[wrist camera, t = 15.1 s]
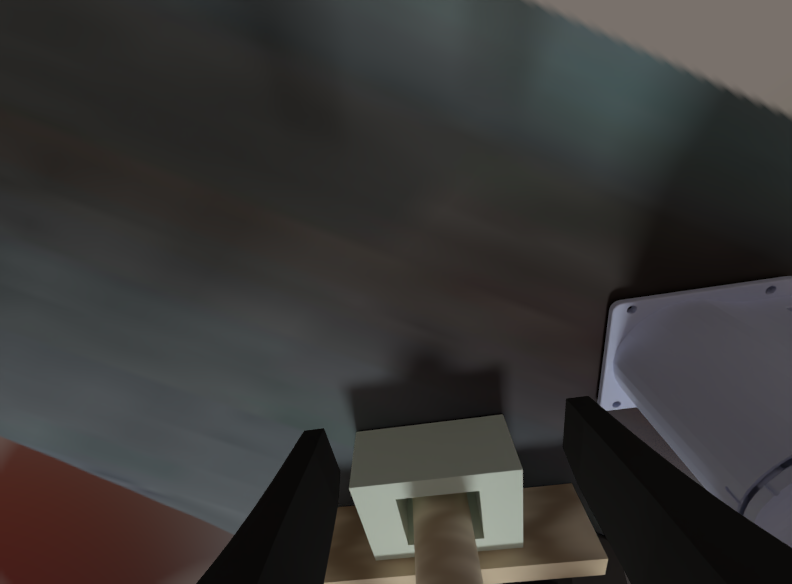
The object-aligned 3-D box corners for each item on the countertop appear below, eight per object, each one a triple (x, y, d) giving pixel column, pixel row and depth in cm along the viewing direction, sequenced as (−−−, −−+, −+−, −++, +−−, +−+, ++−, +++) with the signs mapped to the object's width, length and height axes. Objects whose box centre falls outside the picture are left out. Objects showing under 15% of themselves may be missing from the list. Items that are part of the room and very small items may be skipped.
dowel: (459, 448, 23) (486, 593, 16) (463, 481, 25) (490, 626, 18) (407, 454, 24) (412, 599, 16) (415, 486, 25) (422, 631, 18)
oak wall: (571, 483, 26) (608, 558, 21) (570, 499, 27) (605, 574, 22) (318, 509, 27) (303, 584, 23) (325, 523, 28) (312, 598, 24)
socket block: (502, 414, 22) (522, 469, 19) (505, 488, 26) (523, 547, 22) (356, 431, 23) (348, 488, 20) (378, 502, 27) (375, 560, 23)
